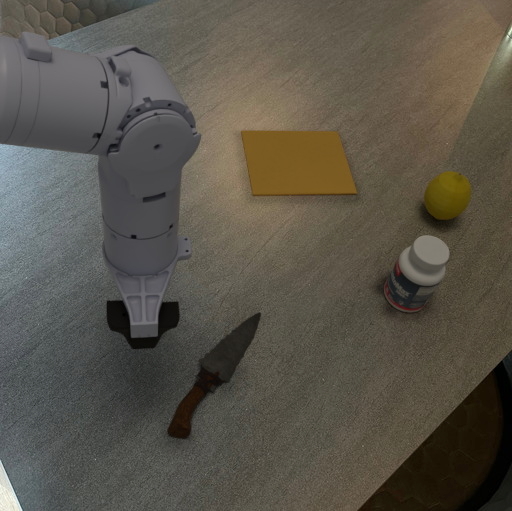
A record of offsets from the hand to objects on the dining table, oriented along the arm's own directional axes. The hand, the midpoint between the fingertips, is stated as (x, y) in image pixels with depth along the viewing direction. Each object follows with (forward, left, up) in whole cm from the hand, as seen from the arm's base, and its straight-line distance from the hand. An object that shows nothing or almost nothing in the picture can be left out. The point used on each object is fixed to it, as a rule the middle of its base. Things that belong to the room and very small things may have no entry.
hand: (142, 308), depth 57 cm
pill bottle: (+31, +6, -9) cm, 32 cm away
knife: (+7, -2, -9) cm, 12 cm away
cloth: (+22, +28, -9) cm, 36 cm away
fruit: (+39, +18, -9) cm, 43 cm away
